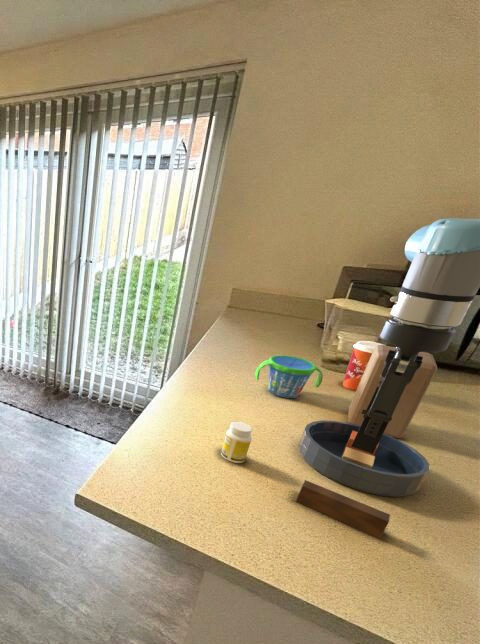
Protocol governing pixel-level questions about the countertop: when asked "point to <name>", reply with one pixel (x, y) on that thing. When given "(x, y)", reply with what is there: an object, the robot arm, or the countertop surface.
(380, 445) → the bowl
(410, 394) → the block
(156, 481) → the countertop surface
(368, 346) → the paper cup
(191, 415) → the countertop surface
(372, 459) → the block beech
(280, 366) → the snack cup
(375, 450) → the block terracotta
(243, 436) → the supplement bottle
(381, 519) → the stick
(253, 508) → the countertop surface
